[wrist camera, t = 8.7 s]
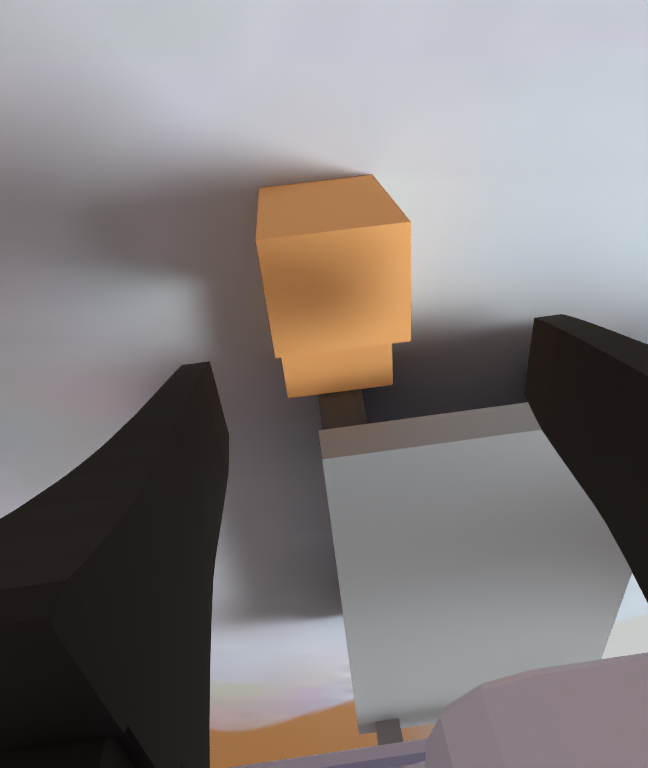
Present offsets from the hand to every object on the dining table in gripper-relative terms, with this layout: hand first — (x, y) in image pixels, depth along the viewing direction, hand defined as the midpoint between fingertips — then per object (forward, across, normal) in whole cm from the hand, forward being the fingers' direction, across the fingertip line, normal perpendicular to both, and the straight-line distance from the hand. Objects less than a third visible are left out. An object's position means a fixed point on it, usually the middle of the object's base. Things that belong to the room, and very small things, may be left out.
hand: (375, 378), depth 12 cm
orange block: (+10, 0, +1) cm, 10 cm away
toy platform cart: (+9, -4, +14) cm, 18 cm away
